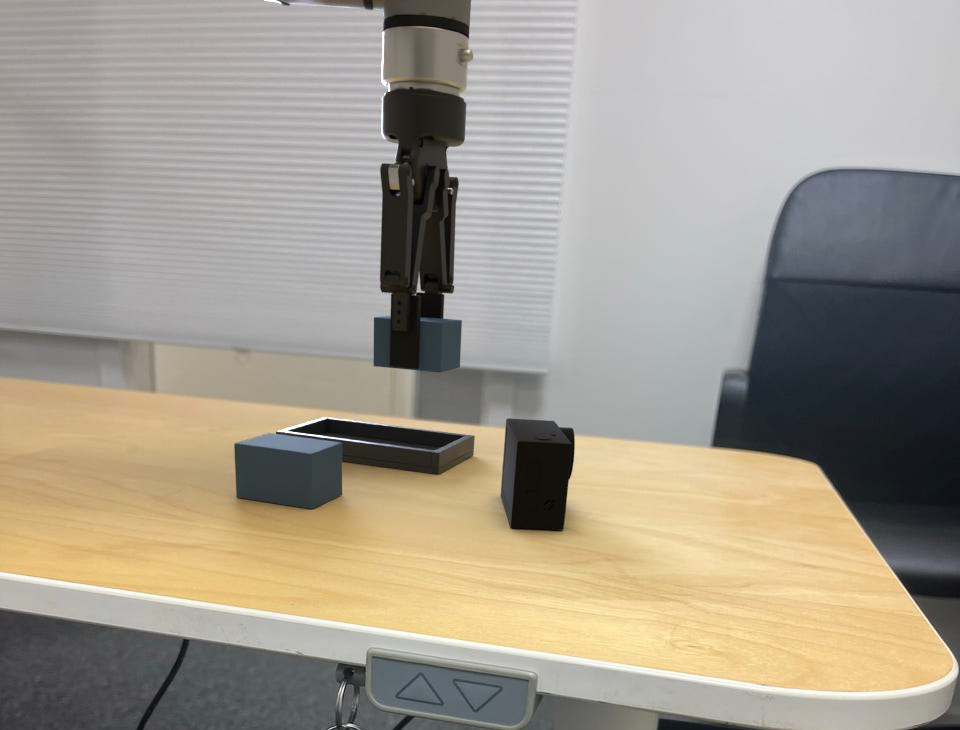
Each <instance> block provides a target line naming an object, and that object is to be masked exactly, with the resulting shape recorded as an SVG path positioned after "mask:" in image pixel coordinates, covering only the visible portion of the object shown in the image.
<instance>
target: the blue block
mask: <svg viewBox="0 0 960 730" xmlns="http://www.w3.org/2000/svg"><path fill="white" fill-rule="evenodd" d="M390 322H391V315H383V316H374V317H373V367H378V368H389V369H398V370H399V369H400V370H410V371H419V372H431V373H443V372H448V371H451V370H455V369H458V368H459V369H460V367H461V351H462V330H463V329H462V327H463V320H462V319H453V318H443V319H442V318H429V317H420V342H419V368H417V369H413V368H403V367H393V366H390Z"/></svg>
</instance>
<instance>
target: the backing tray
mask: <svg viewBox="0 0 960 730" xmlns="http://www.w3.org/2000/svg"><path fill="white" fill-rule="evenodd" d="M275 434H281V435H288V436H296V437H303V438H311V439H318V440H326V441H333V442H341V443H342V462H346V463H352V464H360V465H368V466H374V467H381V468H389V469H396V470H403V471H410V472H418V473H425V474H433V475H440V474H442V473H443V472H445V471H447V470H450V469H451V468H453V467H455V466H457V465H459V464H460V463H462V462H463V461H466V460H467V459H470V458H471V457H473V456H474V455H475V453H474V452H475V437H476V436H475V435H474V434H473V435H471V434H466V433H465V434H464V433H456V432H449V431H439V430H432V429H424V428H416V427H409V426H408V427H407V426H402V425H401V426H400V425H391V424H384V423H377V422H367V421H360V420H354V419H353V420H351V419H344V418H336V417H329V416H323V417H319V418H315V419H313V420H309V421H306V422H303V423H300V424H296V425H294V426H290V427H286V428H283V429H280V430H276V431H275Z"/></svg>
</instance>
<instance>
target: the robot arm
mask: <svg viewBox="0 0 960 730" xmlns="http://www.w3.org/2000/svg"><path fill="white" fill-rule="evenodd" d="M265 1H266V2H274V3H278V4H280V5H282V6H288V7H290V6H291V5H301V6H315V7H317V6H318V7H331V8H345V9H358V10H359V9H361V10H366V11H382V13H383V14H382V15H383V23H382V31H383V32H382V51H381V52H382V53H381V55H382V56H381V83H382V84H383V86H385V88H387V91H386V92H385V93H384V94H383V96H381V136H382V138H383V139H384V140H385V141H387V142H389V143H392V144H397V147H396V153H395V157H394V162H393V163H390V162H389V163H386V162H382V163H381V164H380V169H379V172H380V173H379V175H380V185H381V192H382V195H381V196H382V197H381V200H382V201H381V227H380V228H381V229H380V231H381V233H380V237H381V238H380V260H379V261H380V265H379V267H380V268H379V282H380V283H379V288H380V289H379V290H380V291H381V293H384V294H390V316H391V322H390V366H393V367H403V368H413V369H417V368H419V342H420V317H429V318H442V319H444V314H445V294H449V295H451V294H454V291H455V285H454V281H455V279H454V277H455V275H454V273H455V246H456V244H455V243H456V215H457V214H456V212H457V199H458V192H459V186H460V182H459V181H460V180H459V178H458V176H450V172H449V165H448V155H447V152H448V151H447V150H448V149H449V148H455V147H459V146H462V144H464V143H465V140H466V123H467V122H466V121H467V102H465V99H464V98H463V97H462V96H460V95H461V94H462V93H464V92H465V91H466V90H467V86H468V85H467V84H468V63H470V62H472V61H473V60H474V53H473V50H472V49H469V45H470V44H469V43H470V26H471V11H472V10H471V9H472V0H265ZM418 284H419V286H420V292H419V291H418Z"/></svg>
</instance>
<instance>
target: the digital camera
mask: <svg viewBox="0 0 960 730" xmlns="http://www.w3.org/2000/svg"><path fill="white" fill-rule="evenodd" d="M503 446H504V447H503V456H502V457H503V458H502V471H501V484H500V499H501V501H502V505H503V508H504V511H505V514H506V517H507V520H508V524H509V527H510V528H511V529H527V530H553V531H563V530H564V529H565V522H566V521H565V520H566V510H567V500H568V491H569V481H570V479H571V477H572V473H573V470H574V469H573V468H574V464H575V463H574V462H575V448H576V447H575V446H576V441H575V431H574V428H573V427H566V426H565V427H563V426H562V427H561V426H559V425H558V424H557V422H556V421H554V420H545V419H526V418H511V417H510V418H506V419H505V430H504V444H503Z"/></svg>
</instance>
